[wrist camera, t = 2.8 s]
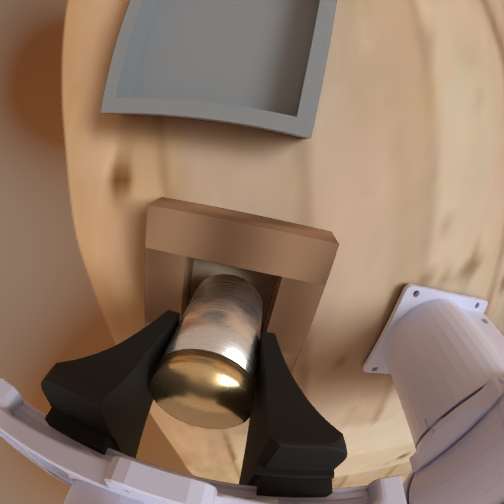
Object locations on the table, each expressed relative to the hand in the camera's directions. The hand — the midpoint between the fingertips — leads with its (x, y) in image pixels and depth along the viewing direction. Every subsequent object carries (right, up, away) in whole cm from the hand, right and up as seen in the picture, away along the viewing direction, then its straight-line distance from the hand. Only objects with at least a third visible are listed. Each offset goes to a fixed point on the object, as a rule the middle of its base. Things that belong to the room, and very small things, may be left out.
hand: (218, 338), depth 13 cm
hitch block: (0, +2, +4) cm, 5 cm away
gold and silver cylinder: (0, +1, +3) cm, 3 cm away
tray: (0, +16, -1) cm, 16 cm away
